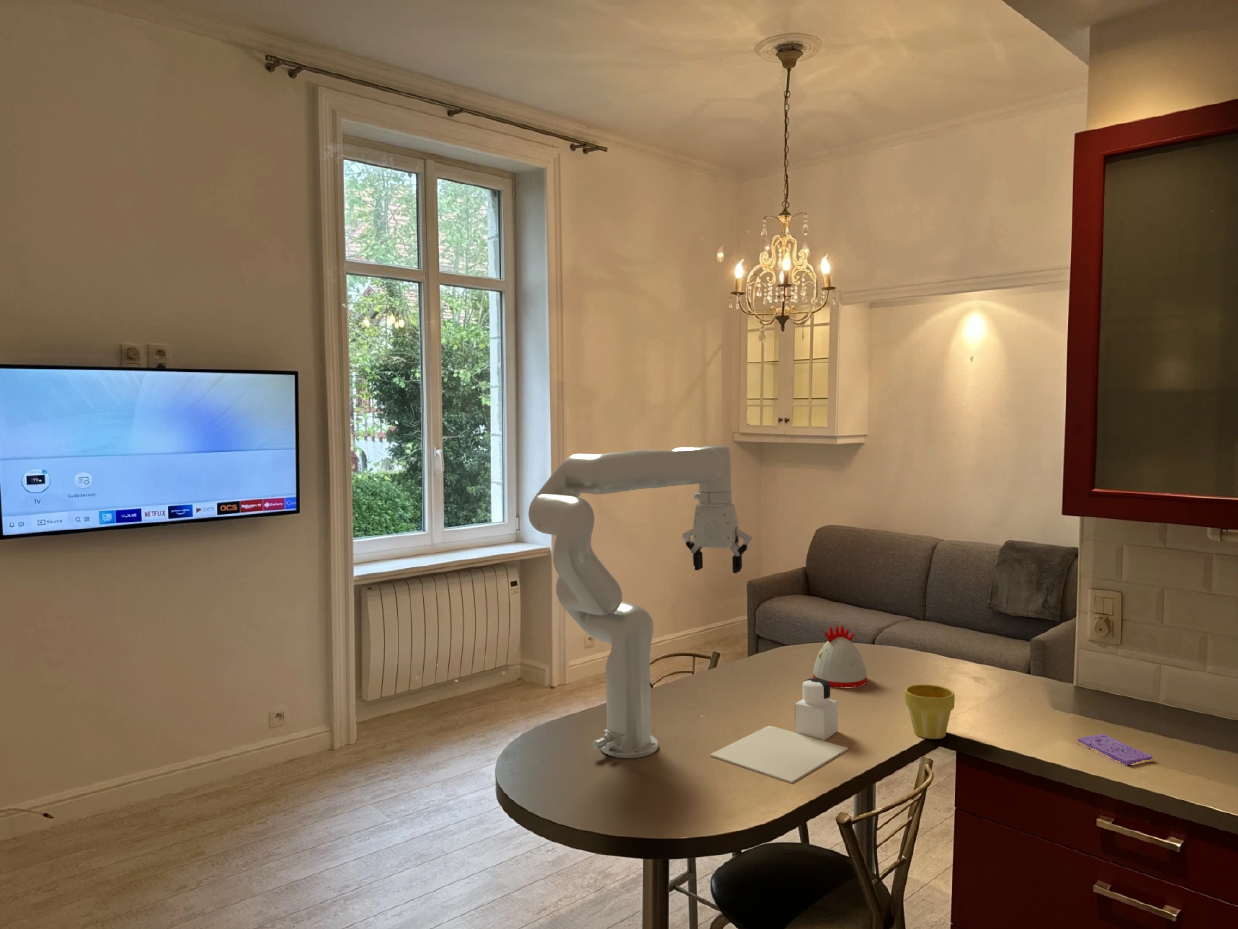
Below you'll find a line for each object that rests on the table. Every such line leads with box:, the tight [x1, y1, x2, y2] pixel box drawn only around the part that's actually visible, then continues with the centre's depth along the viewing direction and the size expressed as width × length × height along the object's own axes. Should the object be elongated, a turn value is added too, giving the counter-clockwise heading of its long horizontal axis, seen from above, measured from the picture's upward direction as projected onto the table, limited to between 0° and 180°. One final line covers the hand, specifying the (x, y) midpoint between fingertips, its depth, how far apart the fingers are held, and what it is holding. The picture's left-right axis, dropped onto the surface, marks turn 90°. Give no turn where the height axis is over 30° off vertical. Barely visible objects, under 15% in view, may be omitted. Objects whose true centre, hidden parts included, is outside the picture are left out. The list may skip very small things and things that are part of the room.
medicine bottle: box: [794, 677, 839, 741], centre depth 190 cm, size 7×7×12 cm
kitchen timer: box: [812, 624, 868, 689], centre depth 227 cm, size 14×14×15 cm
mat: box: [709, 725, 849, 784], centre depth 180 cm, size 22×20×1 cm
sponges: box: [1077, 733, 1154, 765], centre depth 177 cm, size 7×13×2 cm, turn 17°
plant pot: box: [904, 683, 955, 740], centre depth 188 cm, size 10×10×10 cm
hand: (717, 570), depth 199 cm, fingers open, 9 cm apart
